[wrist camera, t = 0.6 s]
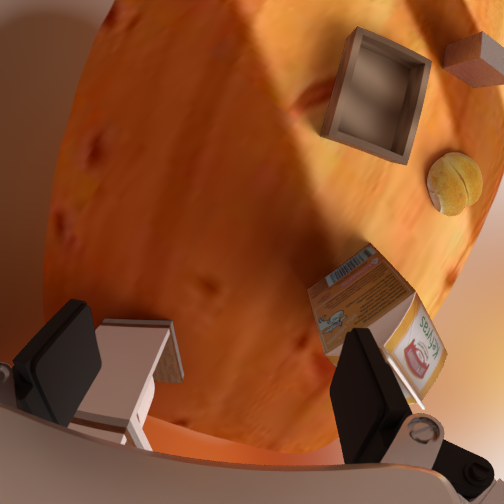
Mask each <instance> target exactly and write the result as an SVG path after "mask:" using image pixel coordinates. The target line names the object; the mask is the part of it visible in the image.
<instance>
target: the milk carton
mask: <svg viewBox="0 0 504 504" xmlns="http://www.w3.org/2000/svg"><path fill="white" fill-rule="evenodd" d="M307 293H308V296H309V300H310V303H311V307H312V310H313V314H314V318H315V321H316V325H317V328H318V332H319V336H320V340H321V343H322V347H323V351H324V355H325V356H326V357H327V358H328V359H329V360H330V362H331V363H332V364H333V365H334V366H335V367H337V363H338V360H339V357H340V353H341V350H342V346H343V343H344V339H345V336H346V333H347V332H351V330H352V329H353V328H369V329H370V331H371V333H372V335H373V337H374V339H375V341H376V343H377V345H378V347H379V349H380V351H381V353H382V355H383V357H384V359H385V361H386V363H388V364H389V365H390V367H391V369H392V371H393V373H394V375H395V377H396V379H397V381H398V383H399V385H400V387H401V390H402V392H403V394H404V396H405V398H406V400H407V403H408V404H414V403H418V404H419V405H420V407H421V408H422V410H424V409H425V407H424V405H423V403H422V400H423V398H424V397H425V395H426V394H427V393H428V391H429V390H430V388H431V386H432V385H433V384H434V382H435V380H436V379H437V377H438V375H439V373H440V371H441V370H442V368H443V366H444V362H445V360H446V357H447V352H446V349H445V347H444V345H443V343H442V341H441V339H440V337H439V335H438V333H437V331H436V329H435V327H434V325H433V323H432V321H431V319H430V317H429V315H428V313H427V311H426V309H425V307H424V305H423V303H422V301H421V300H420V298H419V296H418V294H417V292H416V291H415V290H414V289H413V287H412V286H411V285H410V284H409V283H408V282H407V281H406V280H405V279H404V278H403V277H402V275H401V274H400V273H399V272H398V271H397V270H396V269H395V268H394V267H393V266H392V265H391V264H390V263H389V262H388V261H387V259H386V258H385V257H384V256H383V255H382V254H381V253H380V252H379V251H378V250H377V249H376V248H375V247H374V246H373V245H372V244H371V243H370V244H368V245H367V246H366V247H364V248H363V249H362V250H361V251H359V252H358V253H357V254H355V255H354V256H353V257H351V258H350V259H349V260H347V261H346V262H344V263H343V264H342V265H340V266H339V267H338V268H336V269H335V270H334V271H332V272H331V273H329V274H328V275H327V276H325V277H324V278H323V279H321V280H320V281H318V282H317V283H316V284H314V285H313V286H311V287H310V288H309V289H307Z"/></svg>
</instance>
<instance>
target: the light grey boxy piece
mask: <svg viewBox="0 0 504 504" xmlns="http://www.w3.org/2000/svg"><path fill="white" fill-rule="evenodd" d="M95 334H96V339H97V343H98V347H99V352H100V356H101V360H102V367H101V370H100V371H99V373H98V375H97V376H96V378H95V380H94V381H93V383H92V385H91V387H90V388H89V390H88V392H87V393H86V395H85V397H84V399H83V400H82V402H81V404H80V406H79V407H78V409H77V411H76V413H75V415H74V416H73V418H72V420H71V422H70V424H69V425H68V427H67V428H69V429H72V430H75V431H78V432H81V433H84V434H88V435H91V436H94V437H98V438H101V439H104V440H108V441H112V442H116V443H119V444H123V445H127V446H131V447H136V448H140V449H144V450H149V451H153V450H152V449H151V446H150V445H149V442H148V440H147V438H146V436H145V434H144V432H143V430H142V427H143V424H144V421H145V418H146V416H147V413H148V410H149V407H150V405H151V402H152V399H153V396H154V381H156V382H170V383H182V380H183V377H184V372H183V368H182V364H181V359H180V355H179V350H178V346H177V341H176V336H175V331H174V326H173V321H163V320H128V319H104V320H103V321H102V323H101V324H100V325H99V327H98V328H97V329H96V330H95Z"/></svg>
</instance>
